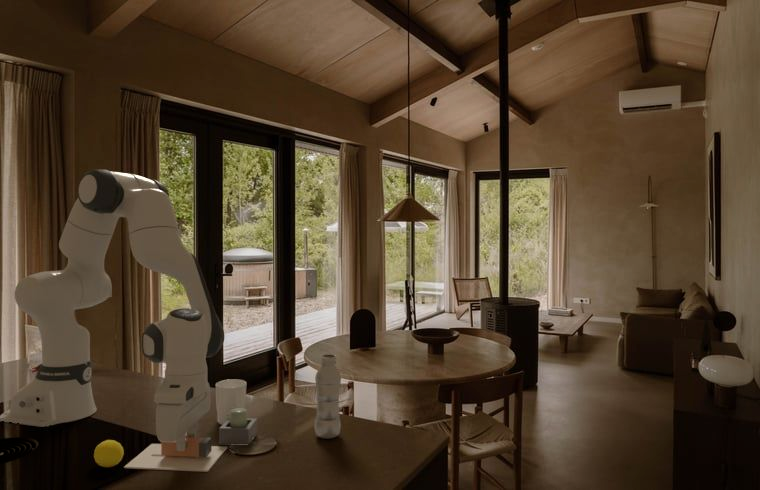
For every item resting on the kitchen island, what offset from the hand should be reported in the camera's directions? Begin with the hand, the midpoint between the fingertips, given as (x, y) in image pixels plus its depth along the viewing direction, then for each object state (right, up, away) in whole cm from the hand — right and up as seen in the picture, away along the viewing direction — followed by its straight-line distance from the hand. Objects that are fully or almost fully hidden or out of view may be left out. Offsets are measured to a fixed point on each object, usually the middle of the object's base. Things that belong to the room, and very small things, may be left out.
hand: (186, 445), depth 117 cm
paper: (-2, -3, 0) cm, 3 cm away
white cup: (+3, -2, +23) cm, 23 cm away
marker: (0, -2, 0) cm, 2 cm away
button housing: (+9, -3, +11) cm, 14 cm away
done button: (+9, -1, +11) cm, 14 cm away
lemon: (-15, -3, -4) cm, 16 cm away
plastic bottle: (+30, -3, +14) cm, 33 cm away
